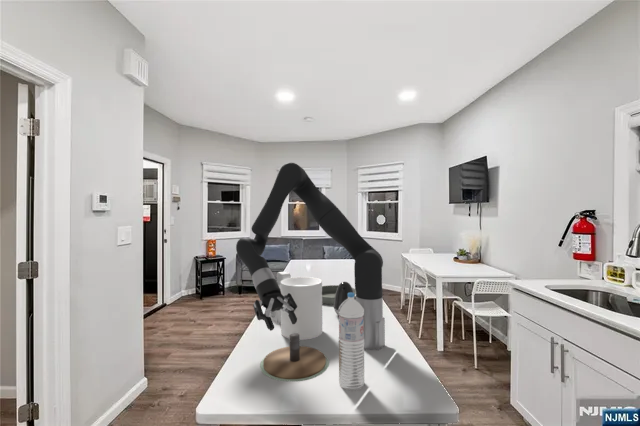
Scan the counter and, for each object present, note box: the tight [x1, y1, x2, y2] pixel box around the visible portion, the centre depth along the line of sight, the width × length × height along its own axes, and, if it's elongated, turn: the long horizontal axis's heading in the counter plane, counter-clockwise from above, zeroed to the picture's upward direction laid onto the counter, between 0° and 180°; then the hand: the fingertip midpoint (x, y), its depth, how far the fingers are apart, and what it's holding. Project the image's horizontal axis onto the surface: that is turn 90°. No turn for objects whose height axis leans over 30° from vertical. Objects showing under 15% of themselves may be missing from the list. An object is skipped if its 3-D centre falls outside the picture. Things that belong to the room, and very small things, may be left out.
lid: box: [263, 333, 326, 379], centre depth 96 cm, size 19×19×8 cm
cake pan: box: [322, 284, 356, 305], centre depth 168 cm, size 25×25×4 cm
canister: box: [280, 276, 323, 341], centre depth 121 cm, size 16×16×20 cm
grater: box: [269, 271, 292, 325], centre depth 138 cm, size 10×10×20 cm
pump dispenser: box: [333, 281, 356, 317], centre depth 140 cm, size 10×10×15 cm
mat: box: [259, 355, 330, 383], centre depth 96 cm, size 21×21×1 cm
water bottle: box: [338, 292, 365, 392], centre depth 84 cm, size 7×7×25 cm
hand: (284, 326), depth 100 cm, fingers open, 8 cm apart
